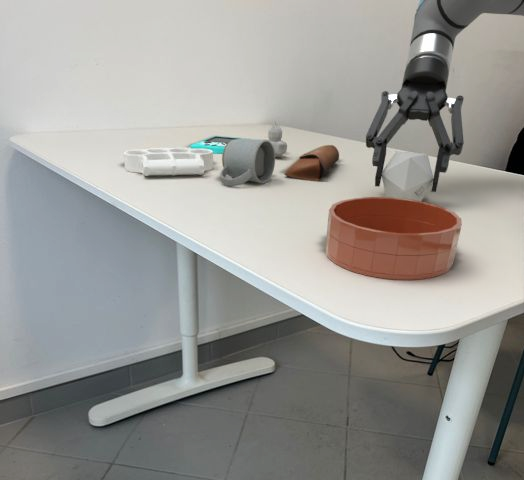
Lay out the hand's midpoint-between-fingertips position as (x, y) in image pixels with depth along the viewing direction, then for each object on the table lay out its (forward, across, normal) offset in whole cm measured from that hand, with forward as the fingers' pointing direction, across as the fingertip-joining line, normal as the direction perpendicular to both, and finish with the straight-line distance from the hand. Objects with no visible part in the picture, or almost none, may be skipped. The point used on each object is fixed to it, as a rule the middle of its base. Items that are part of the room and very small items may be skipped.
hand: (405, 184), depth 89 cm
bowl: (+20, 0, +15) cm, 25 cm away
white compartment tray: (-4, +47, -9) cm, 48 cm away
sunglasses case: (-12, +20, -18) cm, 29 cm away
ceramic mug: (-2, +30, -7) cm, 31 cm away
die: (0, 0, -5) cm, 5 cm away
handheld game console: (-24, +47, -30) cm, 61 cm away
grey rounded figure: (-19, +31, -25) cm, 44 cm away
